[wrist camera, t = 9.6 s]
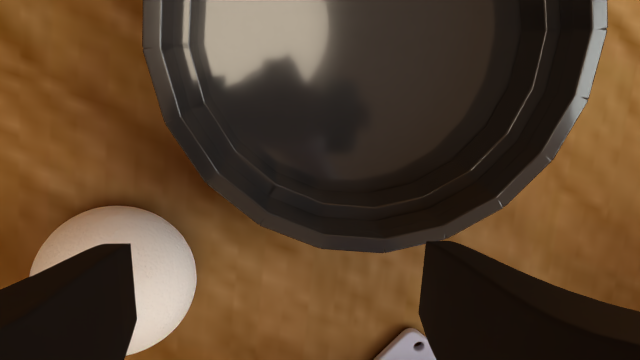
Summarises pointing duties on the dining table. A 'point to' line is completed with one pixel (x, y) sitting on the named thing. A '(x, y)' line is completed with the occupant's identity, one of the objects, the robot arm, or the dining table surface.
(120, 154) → the dining table surface
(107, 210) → the garlic bulb
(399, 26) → the pan
